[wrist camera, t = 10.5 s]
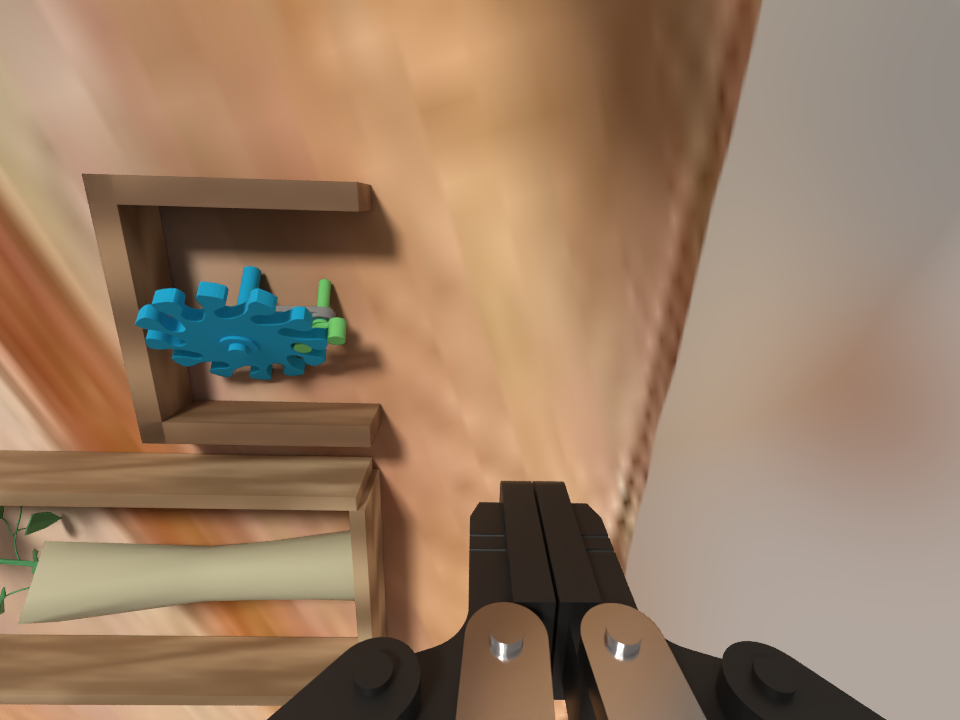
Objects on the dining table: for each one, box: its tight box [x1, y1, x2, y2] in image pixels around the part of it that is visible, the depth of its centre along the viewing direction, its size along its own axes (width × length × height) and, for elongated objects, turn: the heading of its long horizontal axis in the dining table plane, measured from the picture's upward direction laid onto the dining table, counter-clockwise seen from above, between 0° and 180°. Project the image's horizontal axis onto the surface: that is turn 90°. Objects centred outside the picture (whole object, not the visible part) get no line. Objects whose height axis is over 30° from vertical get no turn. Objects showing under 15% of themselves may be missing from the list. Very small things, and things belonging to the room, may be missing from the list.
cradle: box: [82, 174, 381, 447], centre depth 29 cm, size 16×14×4 cm
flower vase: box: [0, 506, 355, 624], centre depth 32 cm, size 12×12×35 cm
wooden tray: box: [0, 450, 387, 706], centre depth 34 cm, size 18×40×5 cm, turn 88°
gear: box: [135, 266, 347, 380], centre depth 28 cm, size 11×6×10 cm
